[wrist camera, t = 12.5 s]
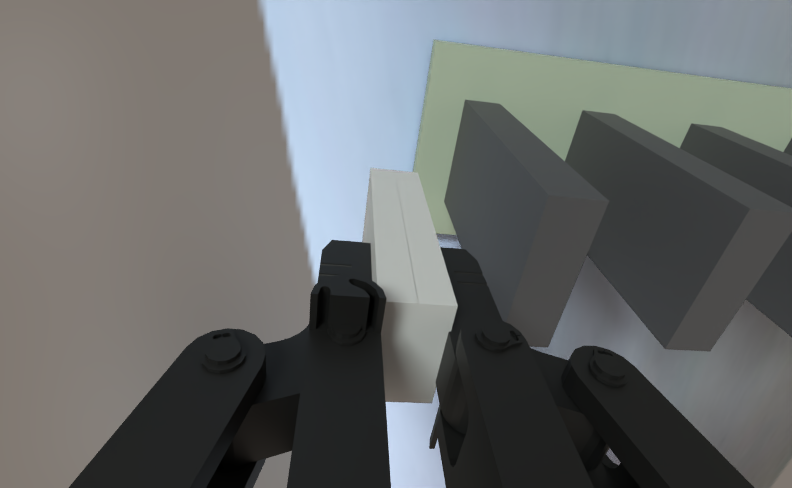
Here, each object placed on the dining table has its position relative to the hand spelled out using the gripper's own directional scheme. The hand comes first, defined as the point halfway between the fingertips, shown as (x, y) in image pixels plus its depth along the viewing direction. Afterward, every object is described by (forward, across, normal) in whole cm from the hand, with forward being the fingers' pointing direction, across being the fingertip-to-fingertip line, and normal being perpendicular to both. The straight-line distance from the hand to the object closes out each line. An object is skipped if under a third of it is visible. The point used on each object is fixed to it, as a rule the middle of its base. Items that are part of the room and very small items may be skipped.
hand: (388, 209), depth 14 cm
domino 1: (+7, +4, 0) cm, 8 cm away
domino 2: (+7, +10, 0) cm, 12 cm away
